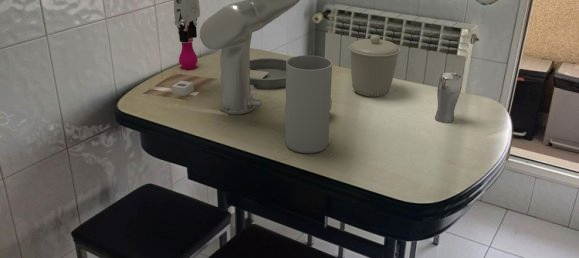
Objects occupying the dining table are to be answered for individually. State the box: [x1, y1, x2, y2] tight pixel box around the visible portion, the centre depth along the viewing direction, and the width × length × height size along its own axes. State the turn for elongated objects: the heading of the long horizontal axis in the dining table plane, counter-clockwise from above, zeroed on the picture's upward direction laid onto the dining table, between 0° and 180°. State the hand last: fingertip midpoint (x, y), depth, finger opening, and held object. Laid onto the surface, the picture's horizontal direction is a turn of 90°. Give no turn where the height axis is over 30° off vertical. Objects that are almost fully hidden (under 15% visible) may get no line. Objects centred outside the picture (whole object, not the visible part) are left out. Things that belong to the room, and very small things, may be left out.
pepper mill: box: [177, 23, 198, 71], centre depth 209 cm, size 7×7×20 cm
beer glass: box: [434, 71, 463, 124], centre depth 171 cm, size 7×7×15 cm
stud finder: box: [172, 81, 194, 96], centre depth 188 cm, size 5×6×3 cm
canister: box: [348, 34, 402, 97], centre depth 191 cm, size 18×18×21 cm
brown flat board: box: [142, 73, 218, 101], centre depth 194 cm, size 18×22×2 cm
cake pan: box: [250, 57, 288, 89], centre depth 206 cm, size 25×25×4 cm
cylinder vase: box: [284, 55, 333, 154], centre depth 152 cm, size 12×12×25 cm
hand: (188, 39), depth 185 cm, fingers open, 5 cm apart
